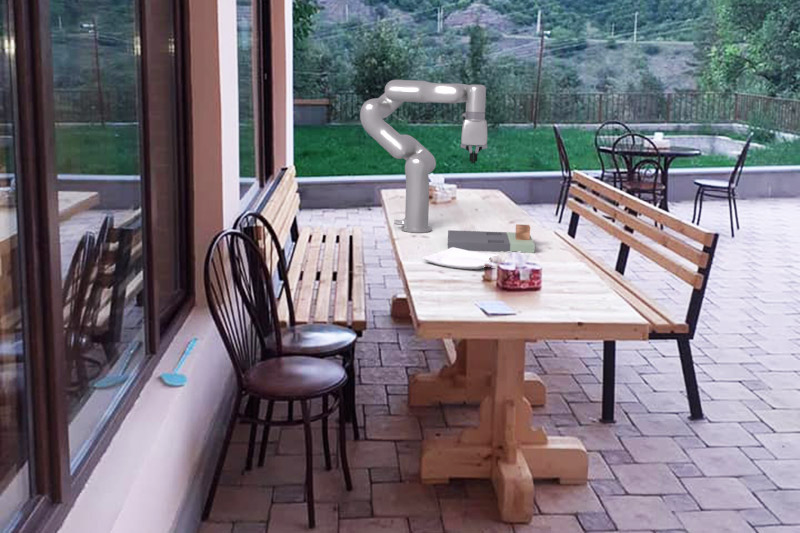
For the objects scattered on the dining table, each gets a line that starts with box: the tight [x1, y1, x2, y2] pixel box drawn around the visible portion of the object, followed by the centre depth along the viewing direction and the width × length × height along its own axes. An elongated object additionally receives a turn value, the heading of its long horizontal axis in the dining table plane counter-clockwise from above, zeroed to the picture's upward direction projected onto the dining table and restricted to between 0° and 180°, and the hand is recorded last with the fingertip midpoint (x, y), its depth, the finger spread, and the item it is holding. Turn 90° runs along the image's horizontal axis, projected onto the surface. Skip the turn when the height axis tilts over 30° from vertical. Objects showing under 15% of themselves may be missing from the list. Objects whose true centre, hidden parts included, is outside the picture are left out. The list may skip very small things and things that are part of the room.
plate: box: [421, 247, 500, 270], centre depth 316 cm, size 24×24×3 cm
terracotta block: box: [515, 223, 531, 240], centre depth 345 cm, size 5×5×5 cm
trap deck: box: [447, 229, 536, 254], centre depth 347 cm, size 32×24×3 cm
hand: (473, 163), depth 361 cm, fingers closed
